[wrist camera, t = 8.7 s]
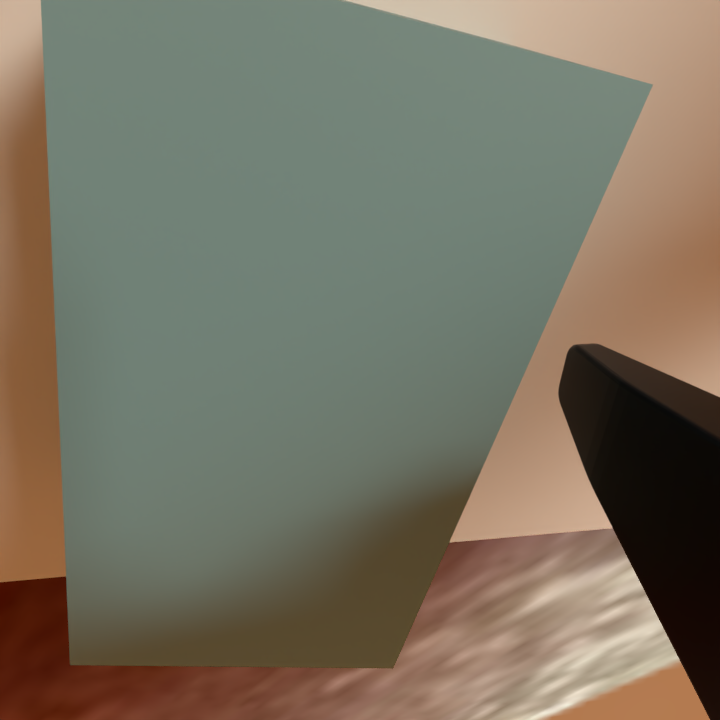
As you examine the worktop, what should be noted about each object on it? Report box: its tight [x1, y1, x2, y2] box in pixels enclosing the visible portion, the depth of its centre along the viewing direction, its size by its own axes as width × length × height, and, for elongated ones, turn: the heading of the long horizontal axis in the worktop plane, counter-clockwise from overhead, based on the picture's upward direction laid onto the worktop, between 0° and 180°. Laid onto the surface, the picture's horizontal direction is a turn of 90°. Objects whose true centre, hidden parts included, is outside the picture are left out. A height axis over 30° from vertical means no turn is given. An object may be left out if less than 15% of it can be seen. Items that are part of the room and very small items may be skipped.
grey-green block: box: [41, 0, 653, 668], centre depth 9 cm, size 10×6×4 cm, turn 167°
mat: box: [0, 0, 720, 582], centre depth 11 cm, size 20×14×1 cm
